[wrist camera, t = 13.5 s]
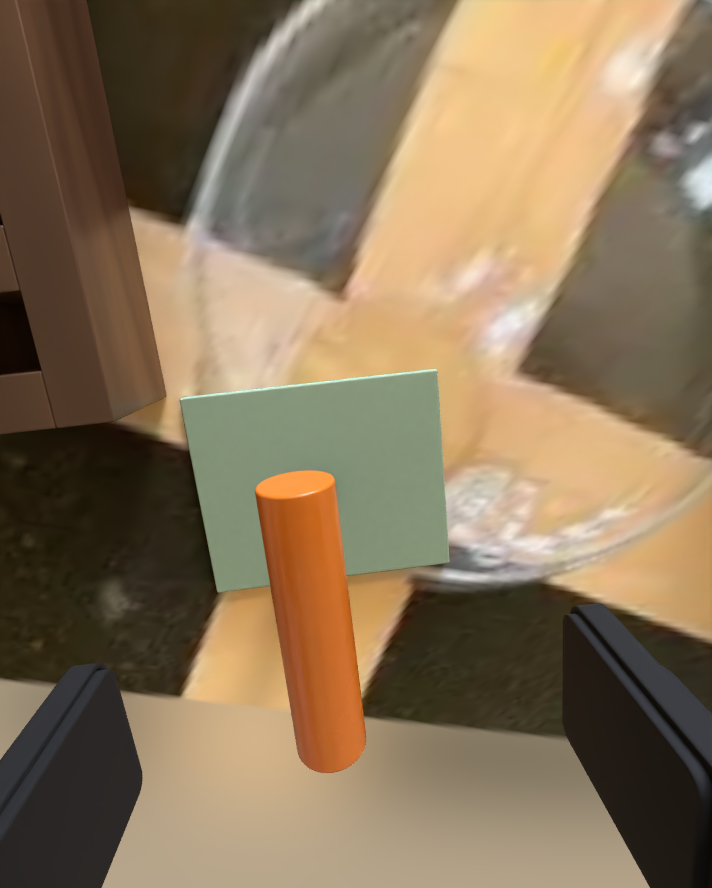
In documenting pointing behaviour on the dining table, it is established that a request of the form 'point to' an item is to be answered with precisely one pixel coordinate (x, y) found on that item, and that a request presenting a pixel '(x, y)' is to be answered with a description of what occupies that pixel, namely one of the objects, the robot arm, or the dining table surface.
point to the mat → (324, 468)
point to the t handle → (313, 616)
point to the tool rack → (65, 234)
